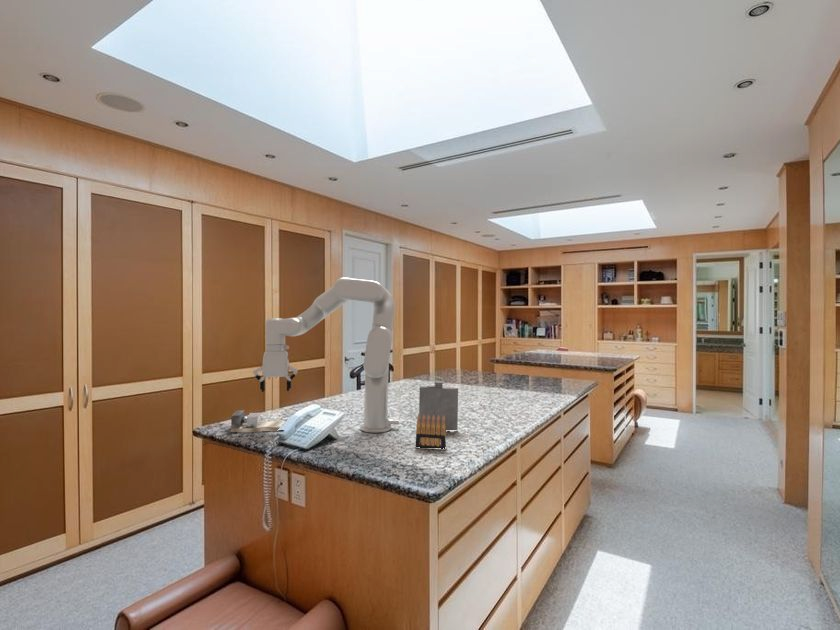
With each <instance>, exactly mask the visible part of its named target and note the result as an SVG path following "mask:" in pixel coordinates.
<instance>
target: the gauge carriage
mask: <svg viewBox="0 0 840 630" xmlns="http://www.w3.org/2000/svg"><path fill="white" fill-rule="evenodd" d="M261 414H262V413H261V412H249V414H248V415H247V416H244V417H242V418H241V423H247V427H250V428H252V427H258V425H259V424H260V422H261V419H262V418H261Z"/></svg>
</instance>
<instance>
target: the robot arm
mask: <svg viewBox="0 0 840 630" xmlns="http://www.w3.org/2000/svg"><path fill="white" fill-rule="evenodd" d="M349 301H358V302H366V303H367V302H368V303H372V304H373V307H374V308H373V309H374V310H373V317H372V325H371V329H370V331H369V332H368V334H367V339H366V345H365V352H364V359H363V370H364V373H365V375H364V402H363V403H364V406H363V407H364V410H363V416H364V417H363V424H361V425H360V427H359V428H360V430H361V431H362V432H366V433H371V434H372V433H374V434H375V433H378V434H379V433H385V432H389V431H391V429H392V425H395V426H396V425H399V423H400V422H399V421H400V420H399V419H395V418H389V417H388V409H389V408H388V404H389V400H388V399H389V396H388V395H389V368H390V364H389V363H390V361H389V360H390V354H391V351H392V350H391V349H392V342H393V328H394V319H395V312H396V311H395V310H396V309H395V308H396V306H395V300H394V298H393V296H392V294H391V292H390V291H389V290H388V289H387V288H386V287H384V286H383V285H382V283H380V282H378V281H375V280H370V279H362V278H361V279H359V278H351V277H345V276H343V277H340V278H338V279H337V280H335V281H334V283H333V285H332V286H331V287H330V288H328V289H327V290H325V291H324V292H322V293H321V294H320V295H318V296H317V297H316V298H315V299H314V300H313V302H312V304H310V305H311V306H309V307H308V308H307V309H306V310H305V311H303V312H302V313H300V314H299V315H297V316H296V317H288V318H281V317H272V318H268V319H267V318H266V320H265V352H263V358H262V366H260V367H258V368H257V369H254V370H253V371H252V373H253V375H254V377H255V378H256V379H257V381H259V383H260V384H259V385H260V386H259V388H260V390H261V393H264V392H265V391H266V382H265V379H266V378H281V377H284V378H285V379H287V381H286V391H287V392H289V391H290V389H292V380H293V379H294V378H295V377H296V376H297V373H298V372H299V370H298V368H295V367H293V366H291V365H290V360H289V359H290V358H289V353H288V351H286V350H289V349H290V345H287V344H286V336H287V337H297V336H301V335H304V334H306V333H307V332H308V331H309V330H310V331H311V329H313V328H314V327H315V326H317V325H318V324H319V323H320V322H321V321H323V320H324V319H325V318H328V316H330V315H331V314H332V313H333V312H335V311H336V310H337V309H340V308H341V307H342V306H343V305H345V304H346V303H348V302H349ZM260 371H261V375H262V376H261V375H259V372H260ZM290 371H292V372H293V373H292V375H290Z"/></svg>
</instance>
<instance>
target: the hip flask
mask: <svg viewBox="0 0 840 630" xmlns="http://www.w3.org/2000/svg"><path fill="white" fill-rule="evenodd" d="M433 384H434V385H427V386H426V385H424V386H422V385H421V386H419V398H418V400H419V402H418V403H419V405H418V414H420V422H421V426H422V417H423V414H424V415H425V424H426V425H427V417H428V414H429V416H430V426H431V425H432V417H433V415H434V416H435V426H436V425H437V417H438V415H439V416H440V426H442V417H443V415H444V417H445V426H446V430H457V431H458V425H459V424H458V419H459V418H458V417H459V415H458V414H459V412H458V411H459V409H458V408H459V387H445V386H444V387H443V385H444V381H434V383H433Z"/></svg>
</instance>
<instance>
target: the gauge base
mask: <svg viewBox="0 0 840 630" xmlns="http://www.w3.org/2000/svg"><path fill="white" fill-rule="evenodd" d="M242 417H245V410H236V411H235V412H233V413H232V415H231V416H230V420H231V421H230V433H231V432H237V433H263V432H262V431H271V432H278V431H277V430H278V429H279V428H280V426H281V425H282V424H283V423H284V422H285V421H286V420H284V421H282V420H281V421H260V424H259V425H258V427H252V428H250V427H247V423H241V418H242Z"/></svg>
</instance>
